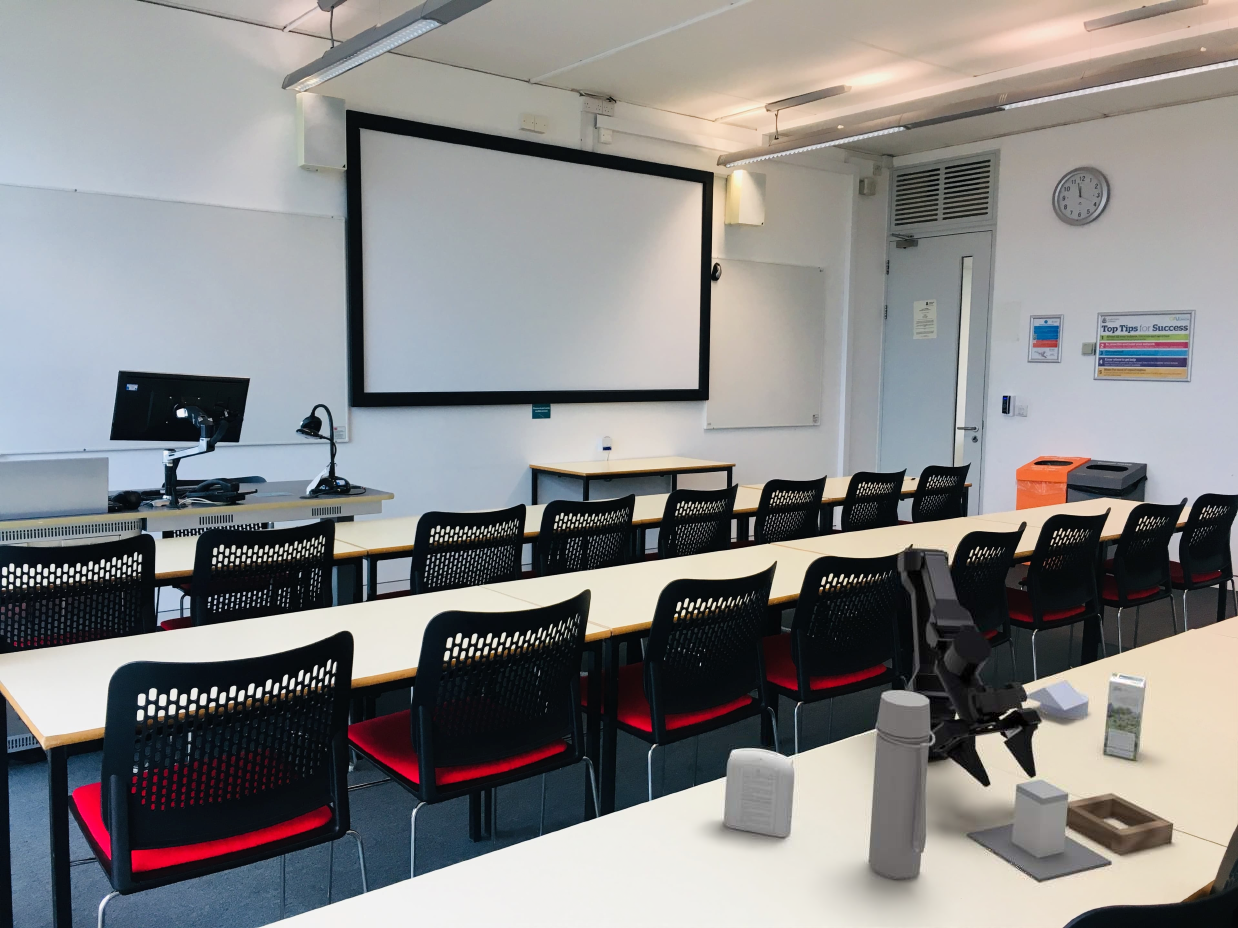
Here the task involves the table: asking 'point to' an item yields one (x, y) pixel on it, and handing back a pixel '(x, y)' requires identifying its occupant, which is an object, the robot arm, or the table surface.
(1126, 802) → the frame
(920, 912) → the table surface
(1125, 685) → the syrup box
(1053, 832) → the grey parts box
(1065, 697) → the lavender angled block
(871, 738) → the table surface
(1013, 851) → the rubber mat
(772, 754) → the grey flat block
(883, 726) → the water bottle
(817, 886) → the table surface
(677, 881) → the table surface
